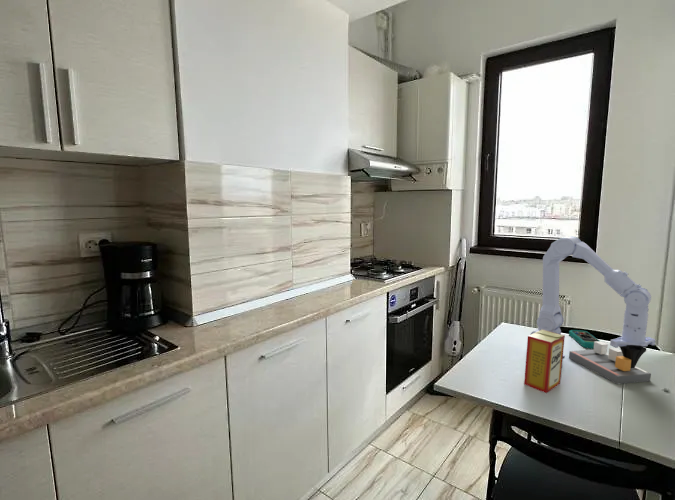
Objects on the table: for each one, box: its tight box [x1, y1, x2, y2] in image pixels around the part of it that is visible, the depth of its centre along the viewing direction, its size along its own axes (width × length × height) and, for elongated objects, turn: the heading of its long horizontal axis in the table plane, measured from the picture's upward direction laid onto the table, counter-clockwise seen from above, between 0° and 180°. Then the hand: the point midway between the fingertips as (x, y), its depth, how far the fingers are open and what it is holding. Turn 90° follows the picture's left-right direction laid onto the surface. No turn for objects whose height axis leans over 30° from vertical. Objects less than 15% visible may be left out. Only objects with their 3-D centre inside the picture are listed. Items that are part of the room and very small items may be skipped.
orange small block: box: [615, 356, 631, 371], centre depth 114 cm, size 2×3×4 cm
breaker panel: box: [568, 340, 652, 385], centre depth 121 cm, size 12×19×6 cm, turn 9°
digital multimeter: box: [568, 329, 600, 350], centre depth 145 cm, size 7×15×3 cm, turn 168°
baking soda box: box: [523, 329, 566, 394], centre depth 110 cm, size 10×6×16 cm
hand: (629, 366), depth 115 cm, fingers closed
